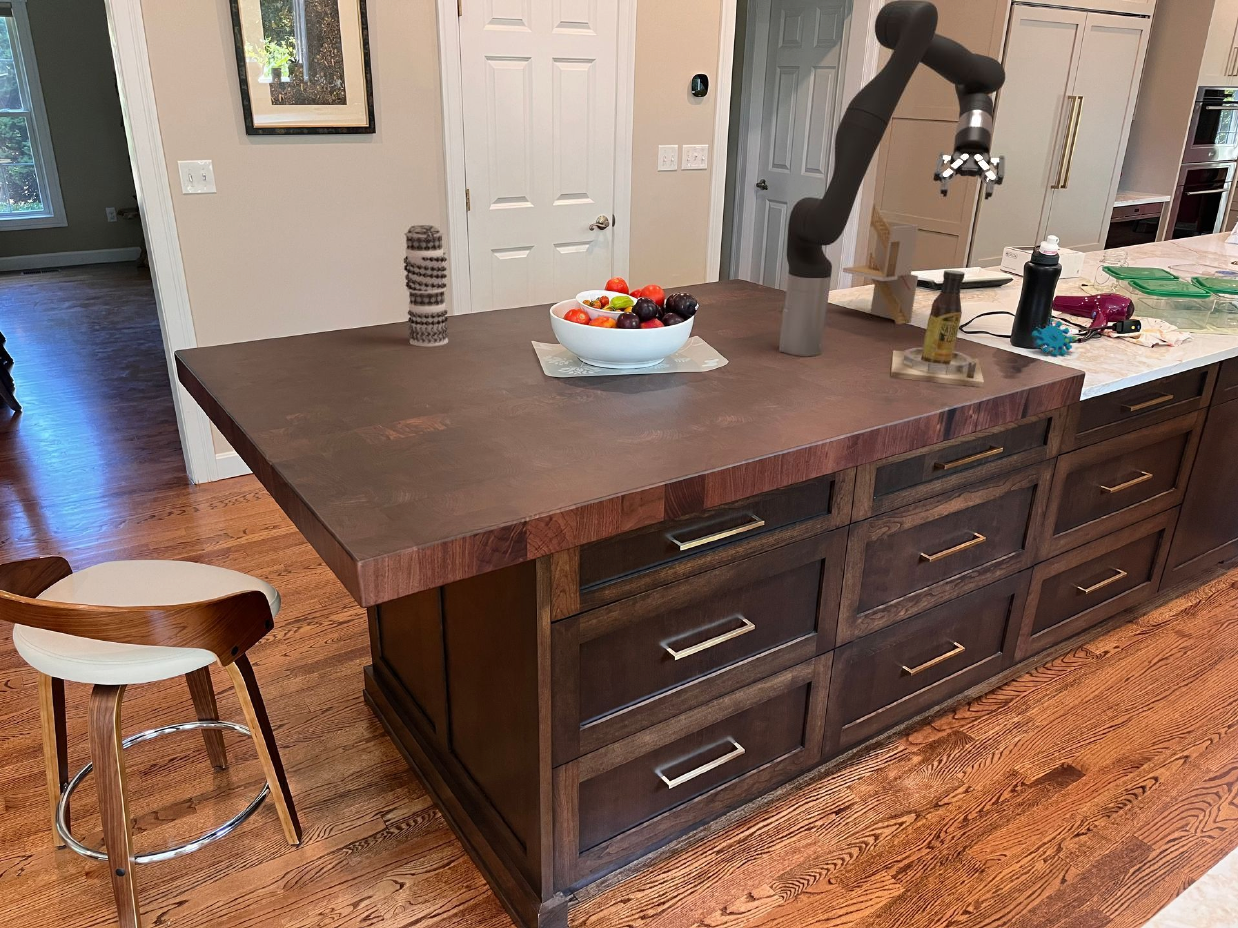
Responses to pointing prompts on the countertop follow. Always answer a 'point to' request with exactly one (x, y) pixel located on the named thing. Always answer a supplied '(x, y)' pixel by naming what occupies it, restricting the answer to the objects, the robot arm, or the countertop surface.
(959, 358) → the white segmented ring
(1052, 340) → the teal virus model
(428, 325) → the decorative candle
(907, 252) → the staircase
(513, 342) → the countertop surface
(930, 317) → the sauce bottle
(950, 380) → the maple board
